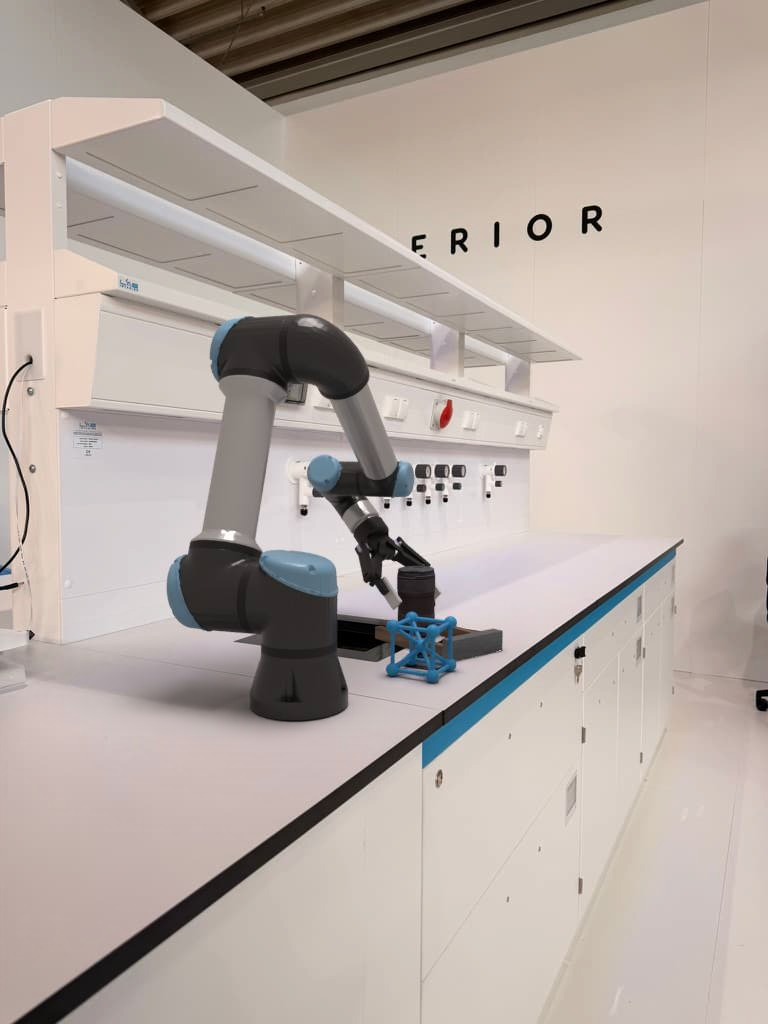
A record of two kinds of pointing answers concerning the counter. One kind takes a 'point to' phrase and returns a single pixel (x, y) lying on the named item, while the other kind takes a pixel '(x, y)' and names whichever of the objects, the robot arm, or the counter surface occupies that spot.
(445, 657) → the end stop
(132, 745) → the counter surface
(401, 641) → the guide rails
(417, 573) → the camera lens
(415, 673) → the molecular structure
